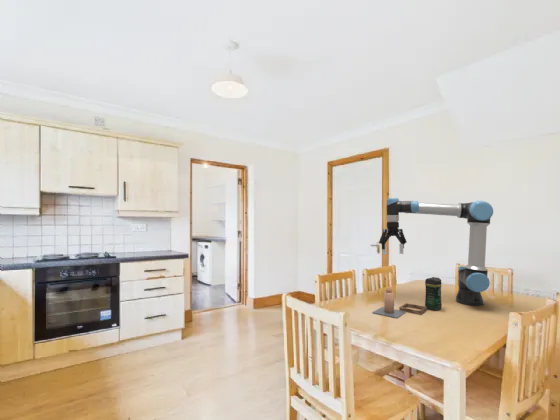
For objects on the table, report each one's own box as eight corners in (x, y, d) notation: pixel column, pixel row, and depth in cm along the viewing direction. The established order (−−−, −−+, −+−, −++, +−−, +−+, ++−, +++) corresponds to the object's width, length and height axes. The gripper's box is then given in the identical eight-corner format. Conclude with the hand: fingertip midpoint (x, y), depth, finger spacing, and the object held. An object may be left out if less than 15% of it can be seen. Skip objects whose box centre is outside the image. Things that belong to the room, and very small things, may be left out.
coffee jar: (437, 311, 175) (436, 279, 176) (423, 308, 181) (422, 277, 182) (443, 308, 182) (443, 277, 182) (430, 305, 188) (429, 275, 188)
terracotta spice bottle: (395, 311, 173) (395, 288, 174) (392, 313, 169) (391, 290, 170) (386, 309, 177) (386, 287, 177) (382, 311, 173) (382, 289, 173)
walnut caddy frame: (427, 310, 178) (427, 306, 178) (421, 315, 169) (421, 311, 169) (406, 306, 186) (406, 303, 186) (399, 310, 177) (399, 307, 177)
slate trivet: (405, 312, 174) (405, 311, 174) (397, 318, 163) (397, 317, 163) (382, 307, 183) (382, 306, 183) (372, 313, 172) (372, 312, 172)
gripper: (403, 221, 207) (404, 252, 206) (373, 221, 198) (373, 254, 198) (412, 221, 199) (412, 254, 199) (380, 221, 191) (380, 255, 190)
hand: (393, 254), depth 198 cm, fingers open, 13 cm apart
